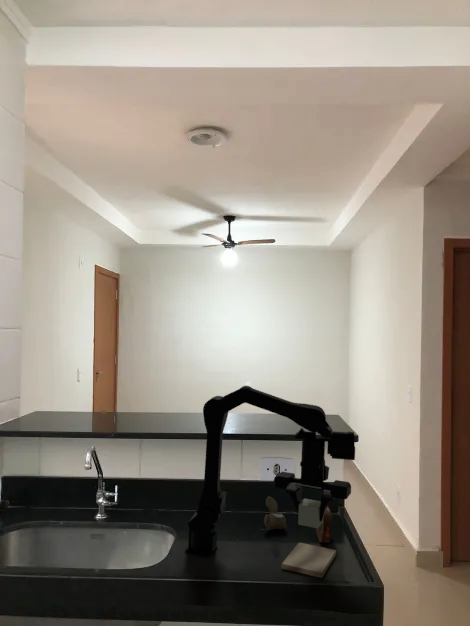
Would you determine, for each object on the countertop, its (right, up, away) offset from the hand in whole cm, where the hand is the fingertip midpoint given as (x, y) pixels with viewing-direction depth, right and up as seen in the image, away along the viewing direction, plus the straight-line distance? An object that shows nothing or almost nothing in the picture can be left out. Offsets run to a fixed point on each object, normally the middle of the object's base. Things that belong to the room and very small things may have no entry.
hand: (310, 518), depth 135 cm
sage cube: (0, -1, 0) cm, 1 cm away
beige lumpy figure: (-7, -11, +21) cm, 24 cm away
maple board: (0, -11, 0) cm, 11 cm away
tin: (+6, -11, +16) cm, 20 cm away
